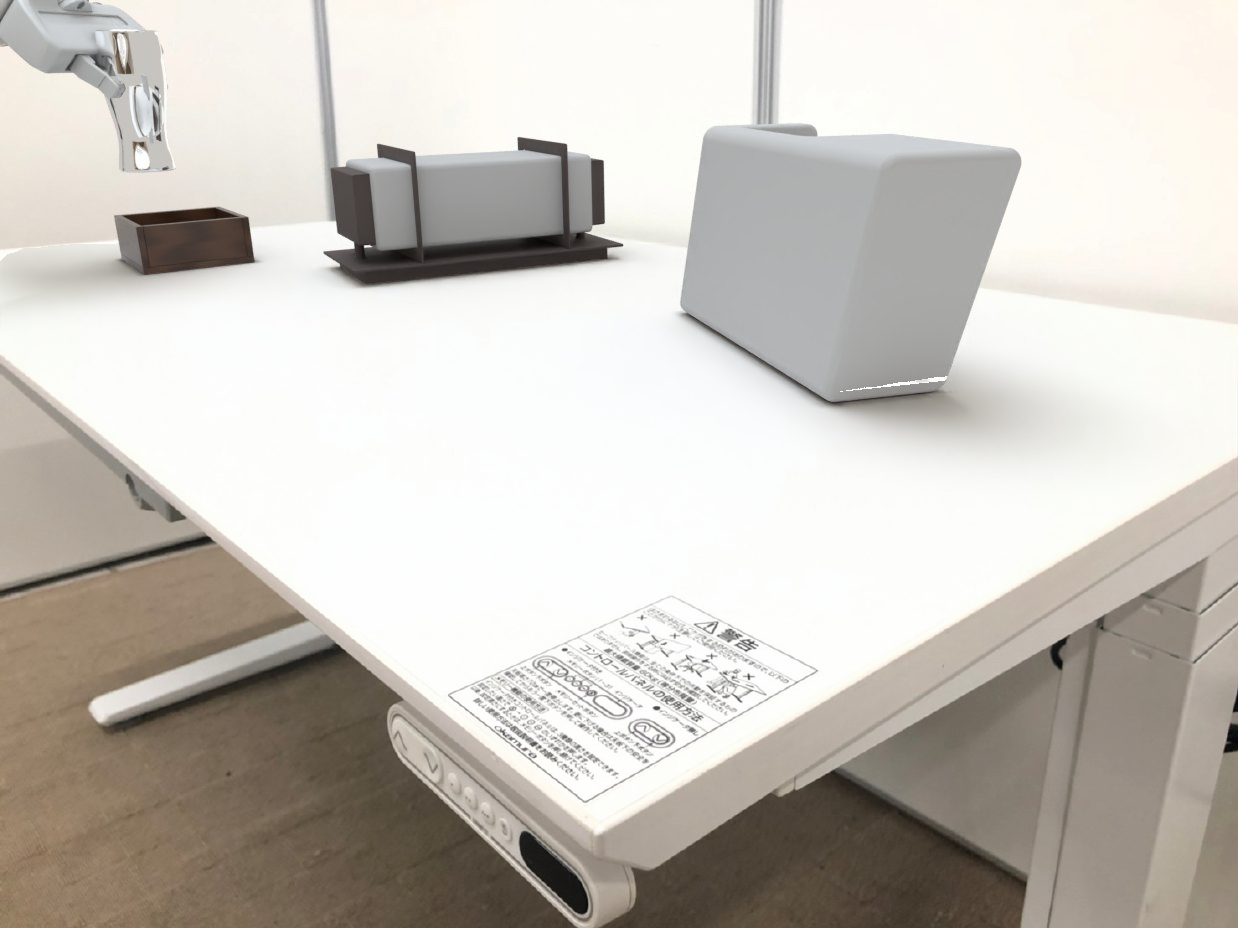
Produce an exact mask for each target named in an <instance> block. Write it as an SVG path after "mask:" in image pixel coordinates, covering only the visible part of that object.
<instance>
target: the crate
mask: <svg viewBox="0 0 1238 928" xmlns="http://www.w3.org/2000/svg"><path fill="white" fill-rule="evenodd" d="M113 219H114V224H115V229H116V236H117V241H118V247H119V251H120V258H121V260H122V261H123V262H124V263H126V264H128V265H130V266H131V267H132V268H134V269H136V270H137V271H138V272H140V273H141V274H143V275H152V274H161V273H163V274H164V273H170V272H171V273H172V272H180V271H188V270H196V269H197V270H198V269H206V268H216V267H223V266H232V265H234V266H235V265H242V264H251V263H255V262H256V261H255V255H254V248H253V247H254V245H253V240H252V233H251V225H250V218H249V216H246V215H244V214H241V213H239V212H235V211H233V210H230V209H227V208H224V207H222V206H208V207H207V206H206V207H196V208H184V209H172V210H160V211H149V212H148V211H147V212H137V213H135V212H134V213H126V214H113Z"/></svg>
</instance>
